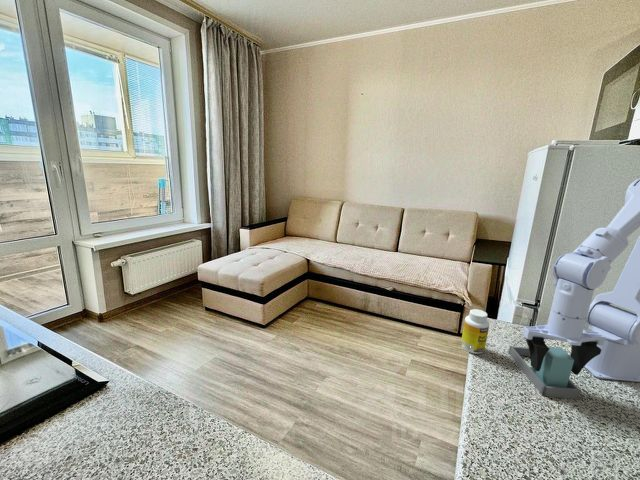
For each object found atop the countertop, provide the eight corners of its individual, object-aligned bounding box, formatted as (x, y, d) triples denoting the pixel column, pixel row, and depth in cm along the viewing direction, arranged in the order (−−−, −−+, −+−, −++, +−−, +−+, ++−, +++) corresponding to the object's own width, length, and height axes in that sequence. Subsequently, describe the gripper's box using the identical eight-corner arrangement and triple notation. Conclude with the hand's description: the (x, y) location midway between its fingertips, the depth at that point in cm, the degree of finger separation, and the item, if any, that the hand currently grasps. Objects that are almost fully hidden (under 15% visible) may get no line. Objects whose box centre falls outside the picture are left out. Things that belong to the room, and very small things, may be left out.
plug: (553, 379, 68) (561, 348, 66) (565, 392, 64) (574, 359, 62) (534, 377, 68) (541, 346, 66) (545, 390, 65) (553, 357, 63)
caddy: (538, 355, 76) (539, 348, 76) (578, 399, 62) (581, 390, 62) (508, 353, 77) (509, 346, 77) (542, 395, 63) (544, 387, 63)
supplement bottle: (476, 357, 75) (483, 320, 72) (456, 346, 79) (461, 310, 77) (488, 350, 78) (495, 314, 75) (468, 340, 82) (474, 305, 80)
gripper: (541, 319, 59) (528, 379, 62) (624, 325, 57) (605, 386, 61) (522, 302, 65) (511, 357, 69) (596, 307, 64) (580, 363, 67)
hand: (553, 369), depth 65 cm, fingers open, 7 cm apart
